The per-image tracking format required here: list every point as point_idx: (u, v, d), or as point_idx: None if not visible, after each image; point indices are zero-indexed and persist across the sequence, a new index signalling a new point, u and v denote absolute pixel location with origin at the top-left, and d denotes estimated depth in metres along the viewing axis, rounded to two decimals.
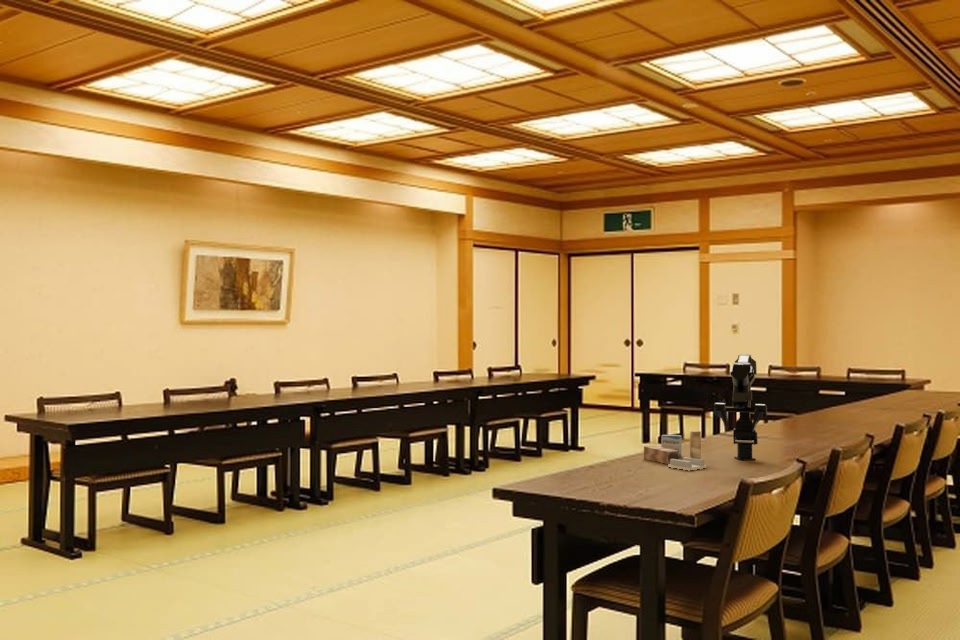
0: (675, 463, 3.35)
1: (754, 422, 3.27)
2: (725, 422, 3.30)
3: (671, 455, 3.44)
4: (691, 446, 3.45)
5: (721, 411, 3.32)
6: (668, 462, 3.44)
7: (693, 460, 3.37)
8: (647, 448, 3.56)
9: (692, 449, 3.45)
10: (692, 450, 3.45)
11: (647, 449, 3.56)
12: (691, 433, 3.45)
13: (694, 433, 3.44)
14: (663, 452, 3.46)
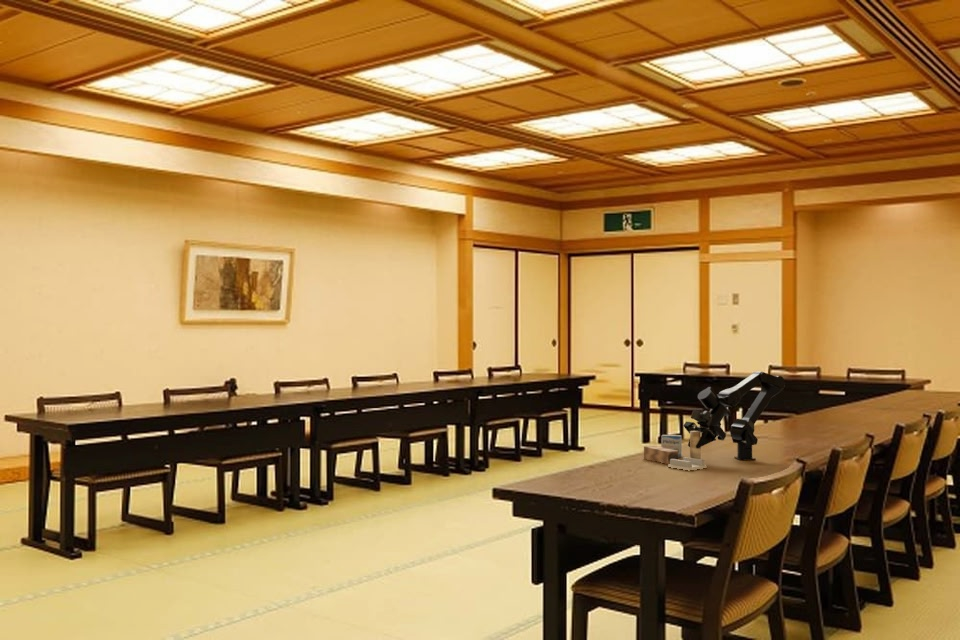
0: (675, 463, 3.35)
1: (700, 440, 3.43)
2: None
3: (671, 455, 3.44)
4: (691, 446, 3.45)
5: (690, 429, 3.50)
6: (668, 462, 3.44)
7: (693, 460, 3.37)
8: (647, 448, 3.56)
9: (692, 449, 3.45)
10: (692, 450, 3.45)
11: (647, 449, 3.56)
12: (691, 433, 3.45)
13: (694, 433, 3.44)
14: (663, 452, 3.46)
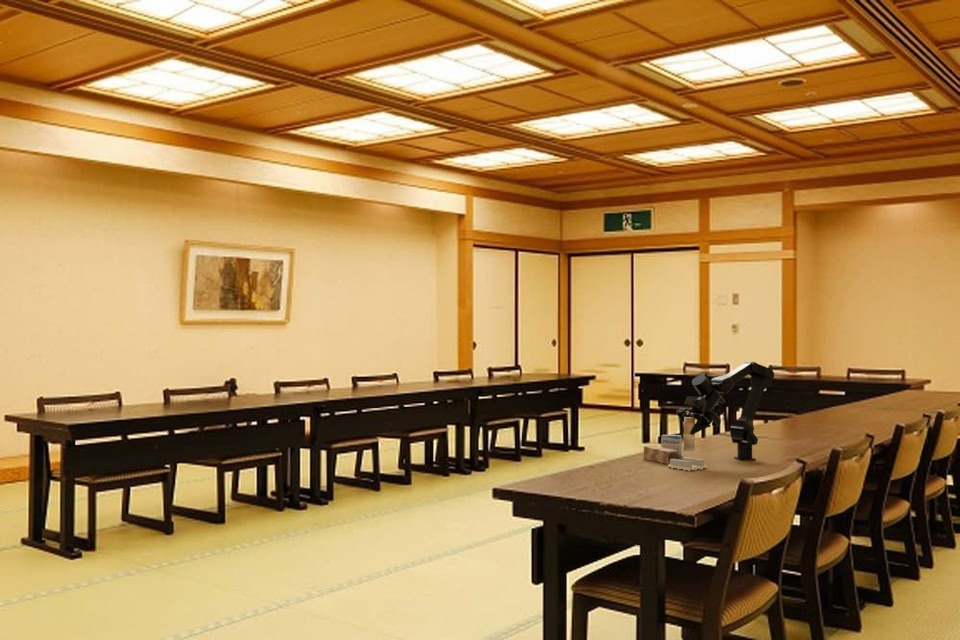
0: (675, 463, 3.35)
1: (694, 426, 3.39)
2: (683, 425, 3.43)
3: (671, 455, 3.44)
4: (685, 432, 3.40)
5: (684, 415, 3.45)
6: (668, 462, 3.44)
7: (693, 460, 3.37)
8: (647, 448, 3.56)
9: (686, 435, 3.40)
10: (686, 436, 3.40)
11: (647, 449, 3.56)
12: (685, 419, 3.40)
13: (688, 419, 3.39)
14: (663, 452, 3.46)
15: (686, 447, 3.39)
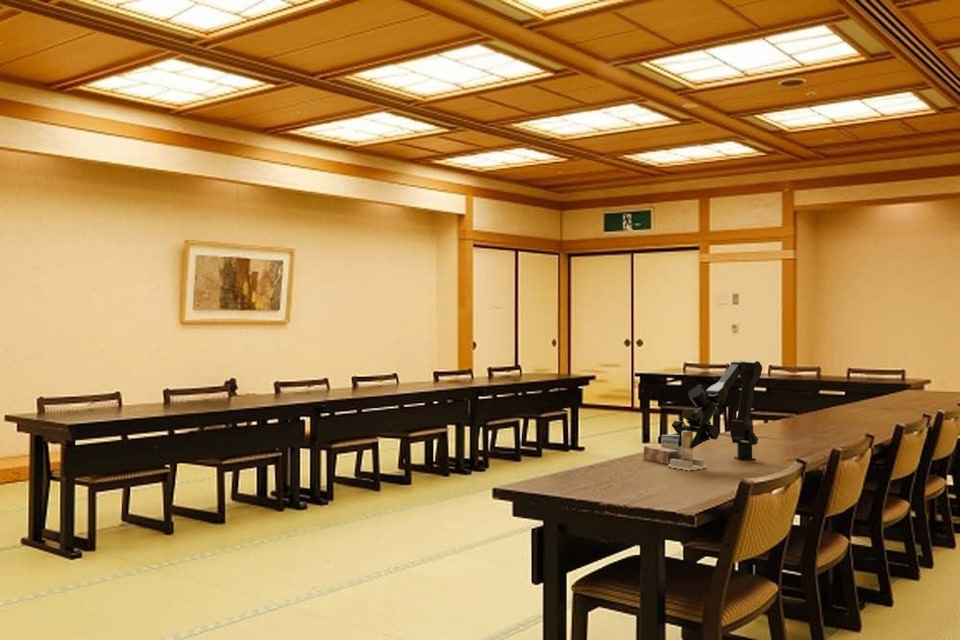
0: (675, 463, 3.35)
1: (694, 439, 3.33)
2: (679, 438, 3.38)
3: (671, 455, 3.44)
4: (683, 447, 3.35)
5: (679, 428, 3.41)
6: (668, 462, 3.44)
7: (693, 460, 3.37)
8: (647, 448, 3.56)
9: (684, 450, 3.34)
10: (684, 451, 3.34)
11: (647, 449, 3.56)
12: (683, 433, 3.35)
13: (686, 433, 3.34)
14: (663, 452, 3.46)
15: None
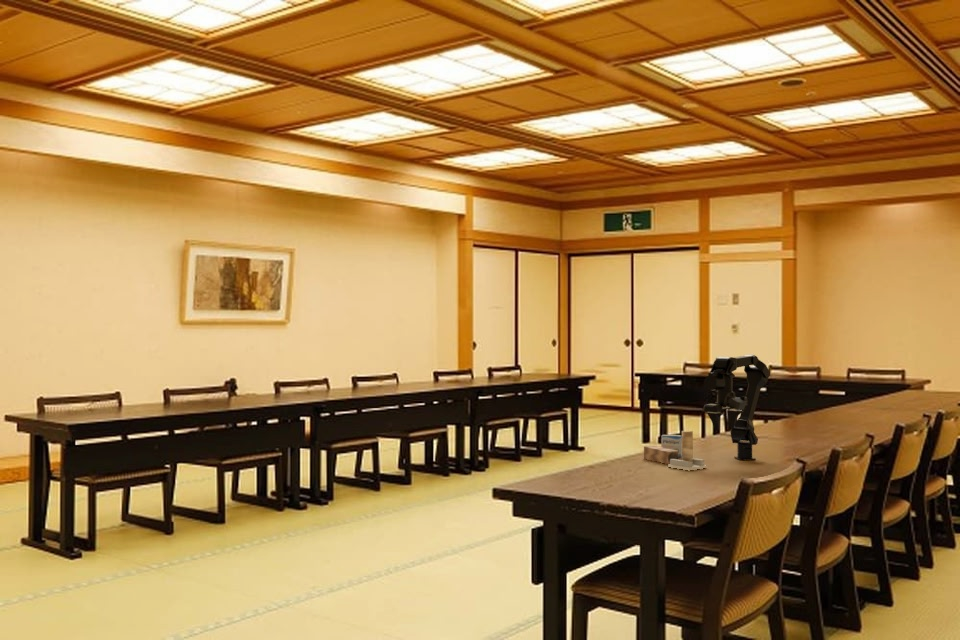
0: (675, 463, 3.35)
1: (735, 421, 3.50)
2: (718, 423, 3.44)
3: (671, 455, 3.44)
4: (683, 447, 3.35)
5: (719, 414, 3.42)
6: (668, 462, 3.44)
7: (693, 460, 3.37)
8: (647, 448, 3.56)
9: (684, 450, 3.34)
10: (684, 451, 3.34)
11: (647, 449, 3.56)
12: (683, 433, 3.35)
13: (686, 433, 3.34)
14: (663, 452, 3.46)
15: None
